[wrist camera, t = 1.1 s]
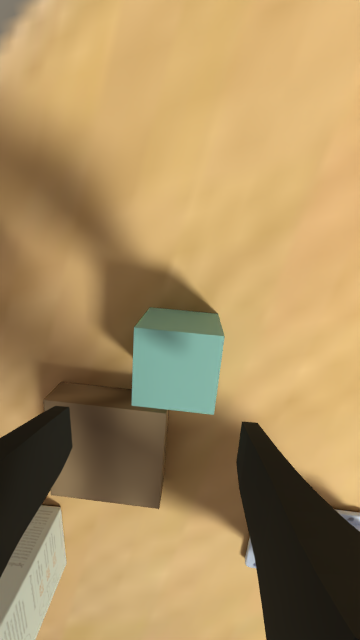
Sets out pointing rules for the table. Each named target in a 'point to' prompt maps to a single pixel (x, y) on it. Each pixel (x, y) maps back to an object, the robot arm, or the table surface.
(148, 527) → the table surface
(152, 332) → the teal block
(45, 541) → the small box
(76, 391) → the walnut slab
